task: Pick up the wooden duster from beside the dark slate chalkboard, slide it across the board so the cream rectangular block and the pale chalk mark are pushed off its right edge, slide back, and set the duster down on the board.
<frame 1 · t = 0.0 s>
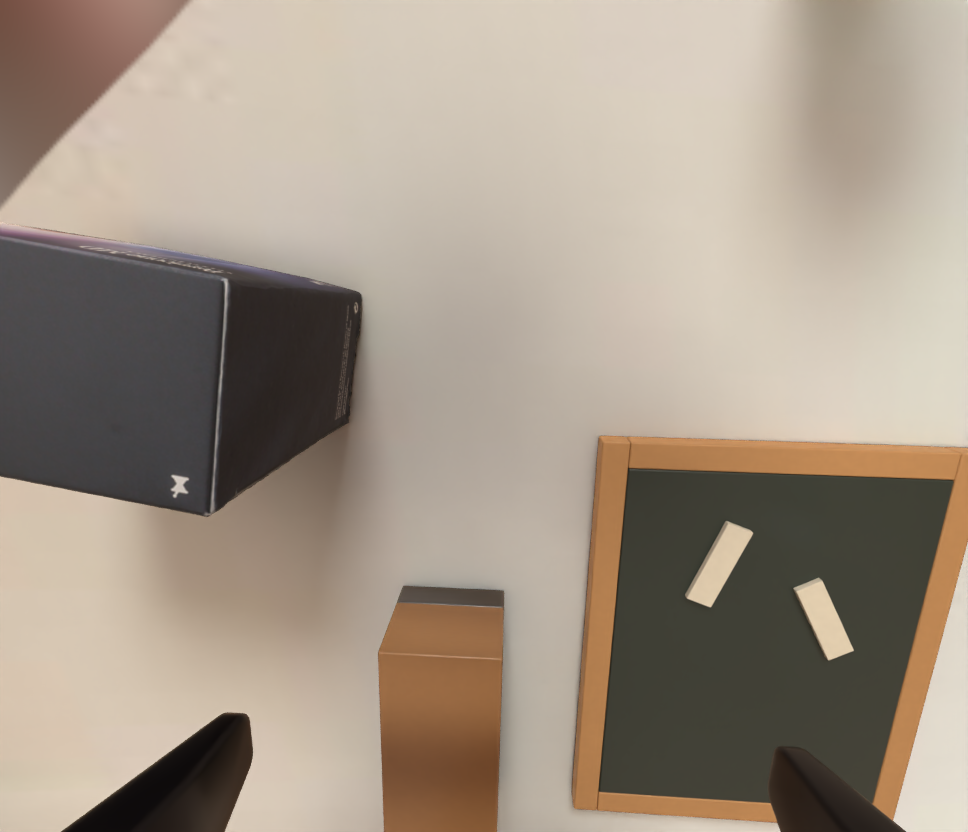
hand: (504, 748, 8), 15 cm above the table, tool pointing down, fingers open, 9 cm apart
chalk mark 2: (716, 563, 22), point 1 cm above the table, touching chalkboard
small box: (244, 336, 22), on the table
chalkboard: (748, 638, 24), on the table
cream rectangular block 1: (821, 617, 22), point 1 cm above the table, touching chalkboard
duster: (452, 690, 26), on the table
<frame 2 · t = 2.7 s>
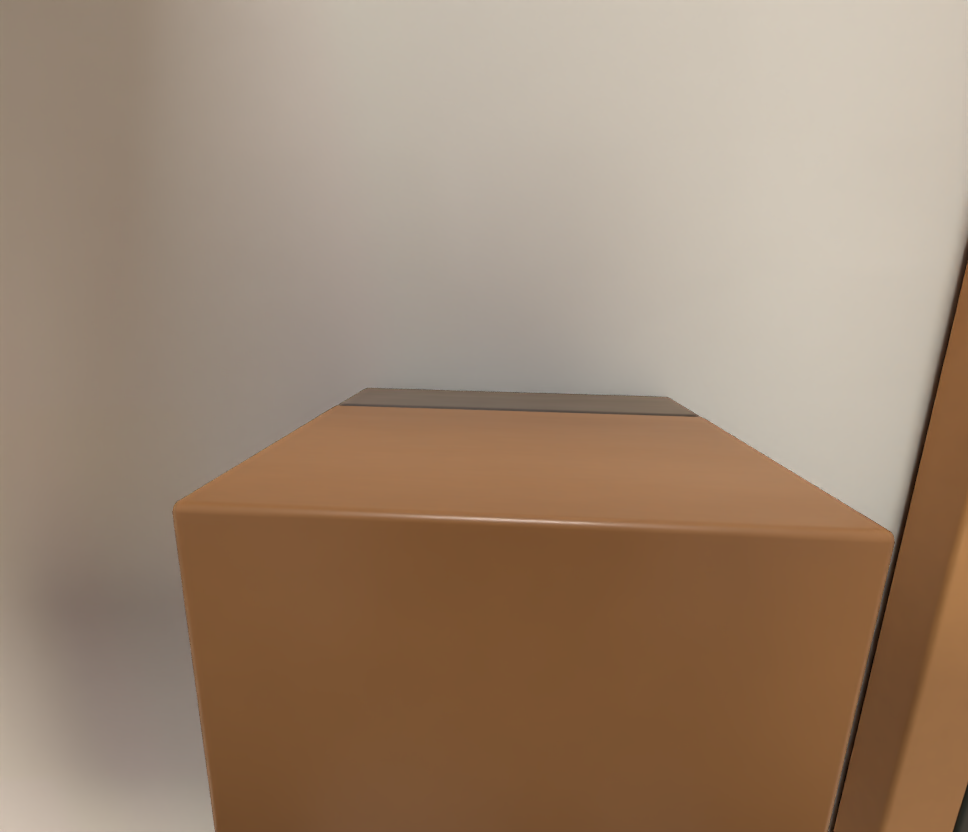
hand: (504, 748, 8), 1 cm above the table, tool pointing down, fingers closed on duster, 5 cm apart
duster: (503, 701, 9), on the table, touching gripper
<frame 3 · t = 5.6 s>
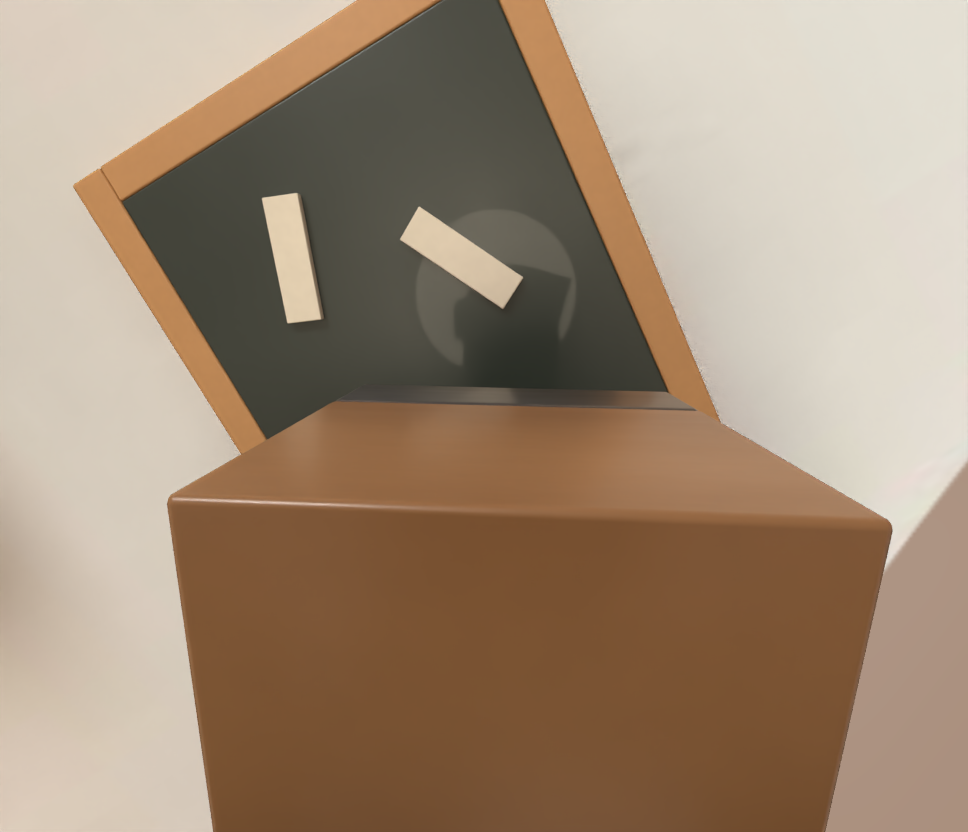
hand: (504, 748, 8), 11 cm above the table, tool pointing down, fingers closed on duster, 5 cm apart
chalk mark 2: (295, 260, 16), point 1 cm above the table, touching chalkboard
chalkboard: (429, 345, 18), on the table
cream rectangular block 1: (462, 259, 16), point 1 cm above the table, touching chalkboard
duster: (504, 698, 9), point 10 cm above the table, touching gripper
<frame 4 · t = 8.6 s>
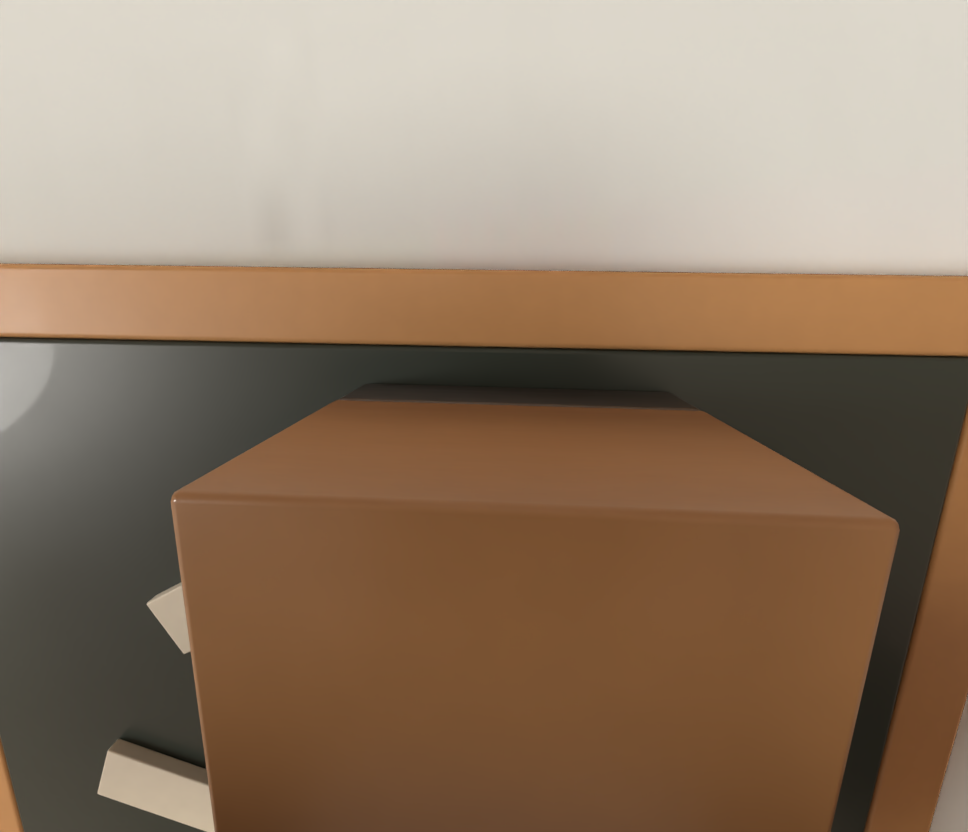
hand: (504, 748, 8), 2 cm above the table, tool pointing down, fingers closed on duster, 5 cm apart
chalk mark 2: (205, 791, 10), point 1 cm above the table, touching chalkboard
chalkboard: (426, 664, 10), on the table
cream rectangular block 1: (260, 576, 9), point 1 cm above the table
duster: (504, 698, 9), point 1 cm above the table, touching gripper
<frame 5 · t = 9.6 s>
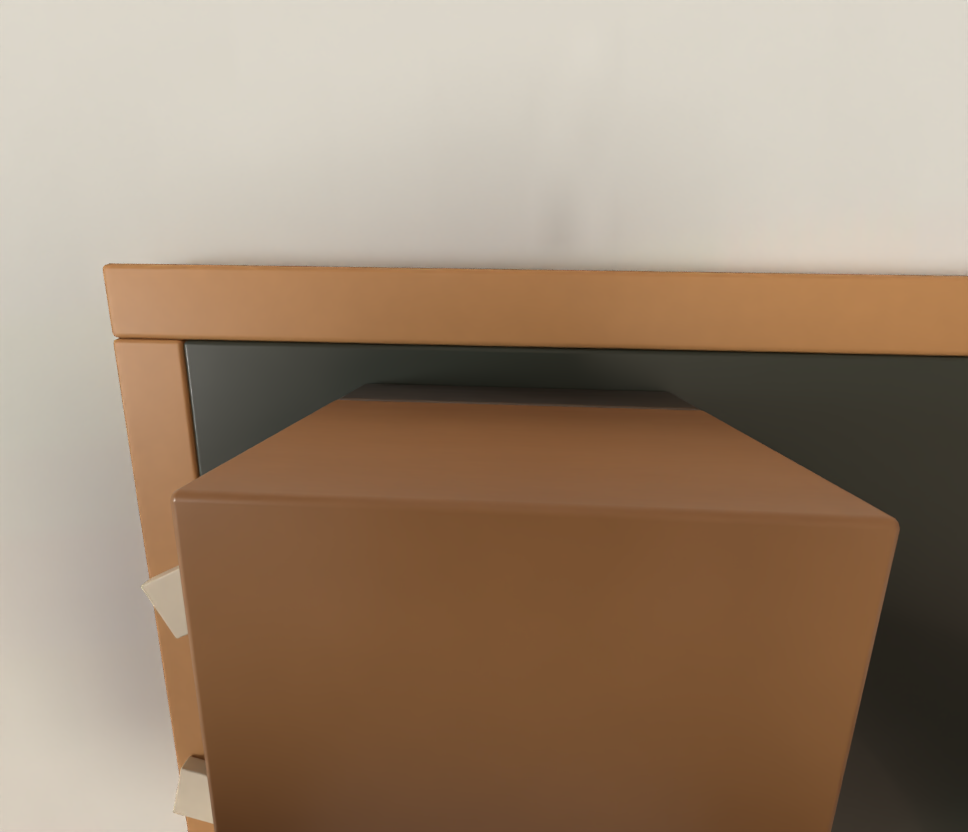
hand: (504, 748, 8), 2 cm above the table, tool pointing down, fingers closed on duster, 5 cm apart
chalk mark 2: (279, 803, 10), point 1 cm above the table
chalkboard: (663, 675, 10), on the table
cream rectangular block 1: (257, 563, 9), point 1 cm above the table
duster: (504, 698, 9), point 1 cm above the table, touching gripper
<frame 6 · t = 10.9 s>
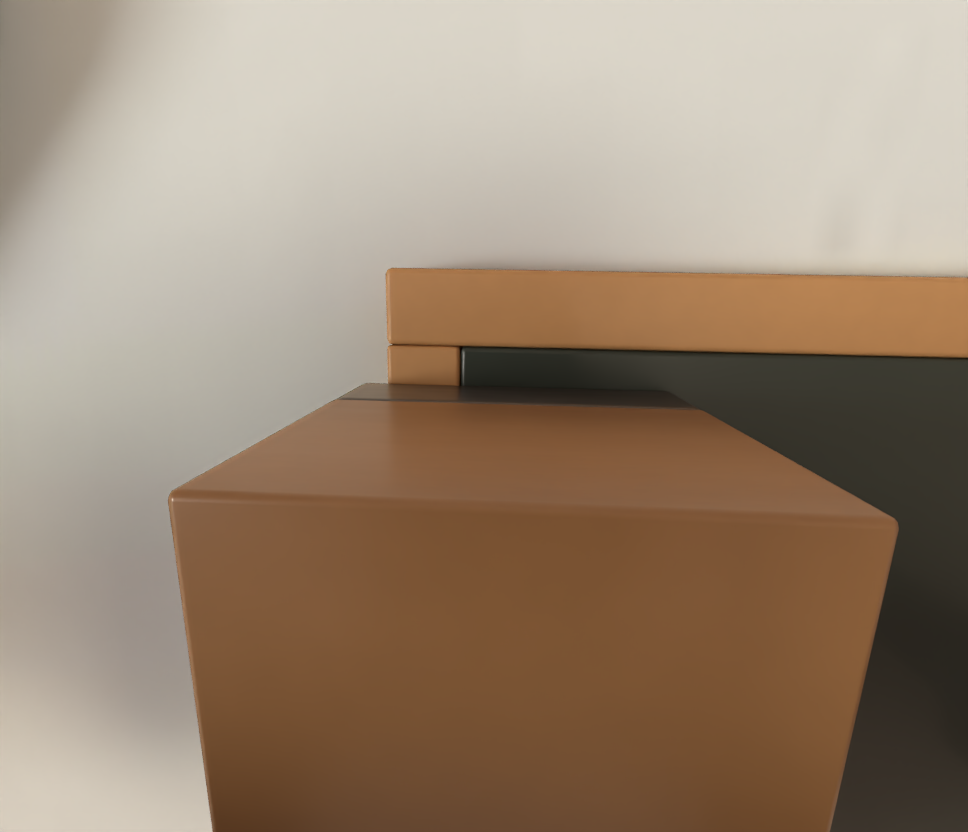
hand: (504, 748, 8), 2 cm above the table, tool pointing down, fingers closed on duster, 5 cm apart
chalkboard: (893, 689, 10), on the table
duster: (504, 698, 9), point 1 cm above the table, touching chalkboard, gripper
when the fingers open (2 cm above the table, at t = 14.4 s): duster stays where it is, resting on chalkboard.
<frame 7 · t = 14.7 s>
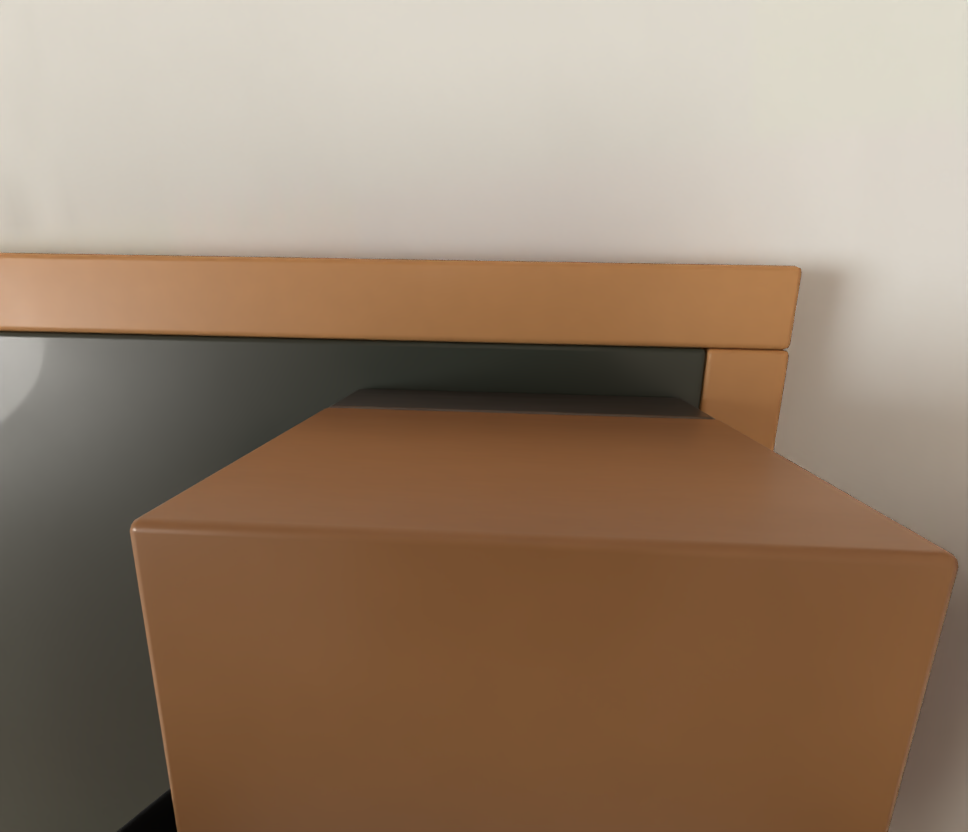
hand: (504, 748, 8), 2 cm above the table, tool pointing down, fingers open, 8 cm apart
chalkboard: (217, 662, 10), on the table
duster: (505, 716, 9), point 1 cm above the table, touching chalkboard
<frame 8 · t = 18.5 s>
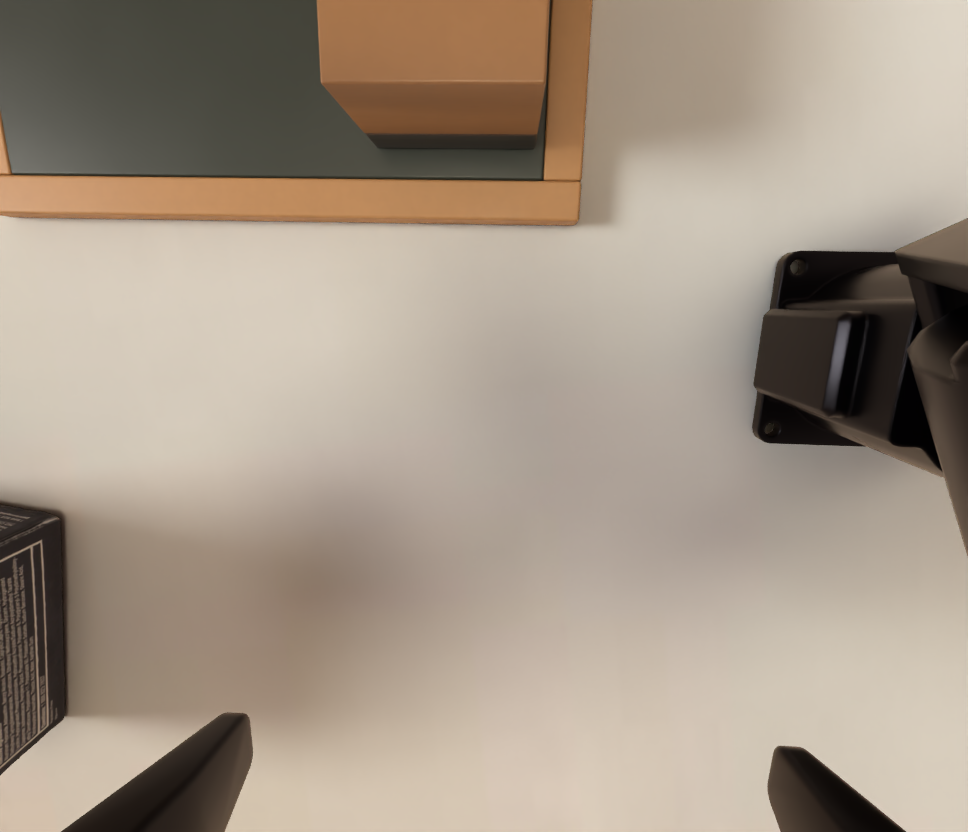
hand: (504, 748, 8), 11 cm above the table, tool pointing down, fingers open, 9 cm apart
small box: (0, 604, 22), on the table
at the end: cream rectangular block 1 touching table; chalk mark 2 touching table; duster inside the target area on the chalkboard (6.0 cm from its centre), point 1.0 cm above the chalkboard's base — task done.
